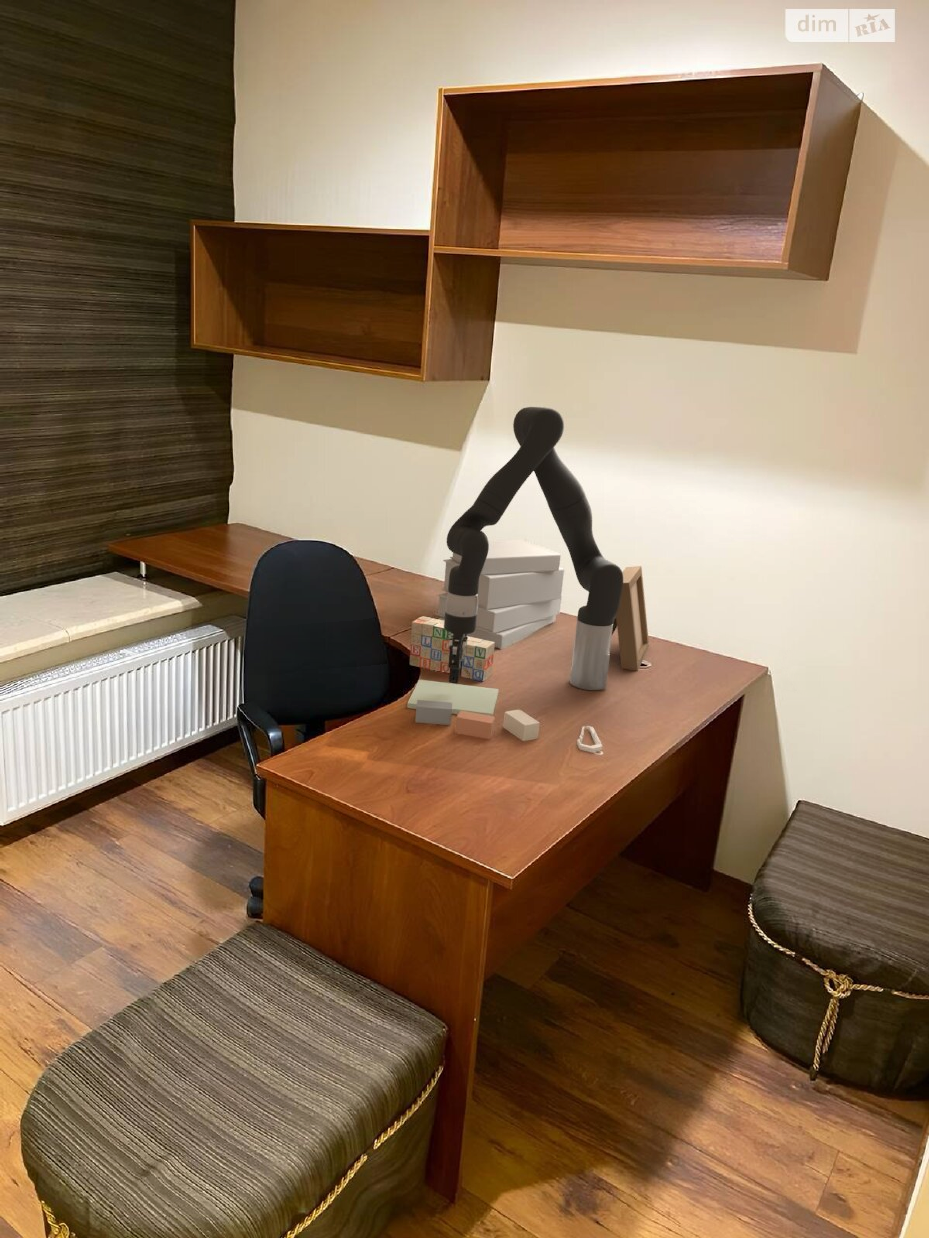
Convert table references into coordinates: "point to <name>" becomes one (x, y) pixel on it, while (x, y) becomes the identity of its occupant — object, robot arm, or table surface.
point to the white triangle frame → (595, 738)
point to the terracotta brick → (475, 724)
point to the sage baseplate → (456, 696)
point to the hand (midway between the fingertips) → (455, 678)
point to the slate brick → (433, 712)
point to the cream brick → (521, 725)
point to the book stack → (513, 591)
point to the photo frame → (632, 620)
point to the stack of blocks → (434, 650)
